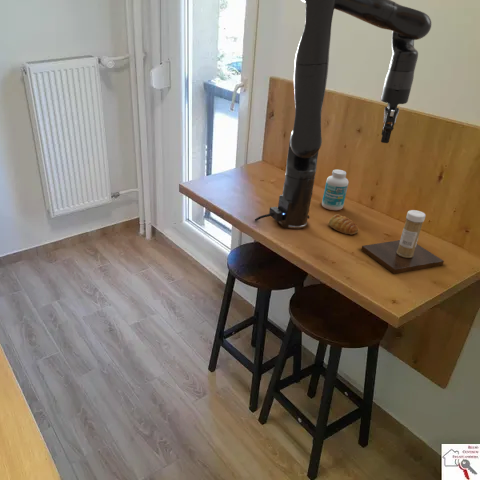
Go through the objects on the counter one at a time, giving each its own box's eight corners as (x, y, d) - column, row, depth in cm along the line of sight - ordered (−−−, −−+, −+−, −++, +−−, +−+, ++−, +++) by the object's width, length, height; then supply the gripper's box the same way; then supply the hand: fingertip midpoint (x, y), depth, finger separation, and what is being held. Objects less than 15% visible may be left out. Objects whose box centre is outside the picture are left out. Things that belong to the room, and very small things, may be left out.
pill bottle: (320, 209, 169) (327, 173, 163) (322, 201, 175) (329, 166, 169) (342, 212, 167) (350, 176, 160) (343, 204, 173) (351, 169, 166)
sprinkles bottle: (416, 255, 137) (429, 213, 131) (407, 260, 135) (420, 217, 129) (401, 249, 140) (413, 208, 134) (392, 253, 138) (404, 211, 132)
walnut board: (393, 273, 131) (394, 269, 130) (361, 250, 143) (362, 245, 142) (442, 265, 136) (444, 260, 135) (407, 242, 147) (408, 238, 147)
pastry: (362, 232, 153) (365, 222, 151) (348, 237, 150) (350, 227, 148) (339, 221, 160) (341, 211, 158) (325, 226, 157) (327, 216, 155)
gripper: (384, 81, 148) (372, 132, 156) (383, 88, 137) (371, 143, 144) (410, 83, 146) (397, 134, 153) (412, 91, 134) (398, 146, 142)
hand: (384, 139), depth 149 cm, fingers open, 8 cm apart
